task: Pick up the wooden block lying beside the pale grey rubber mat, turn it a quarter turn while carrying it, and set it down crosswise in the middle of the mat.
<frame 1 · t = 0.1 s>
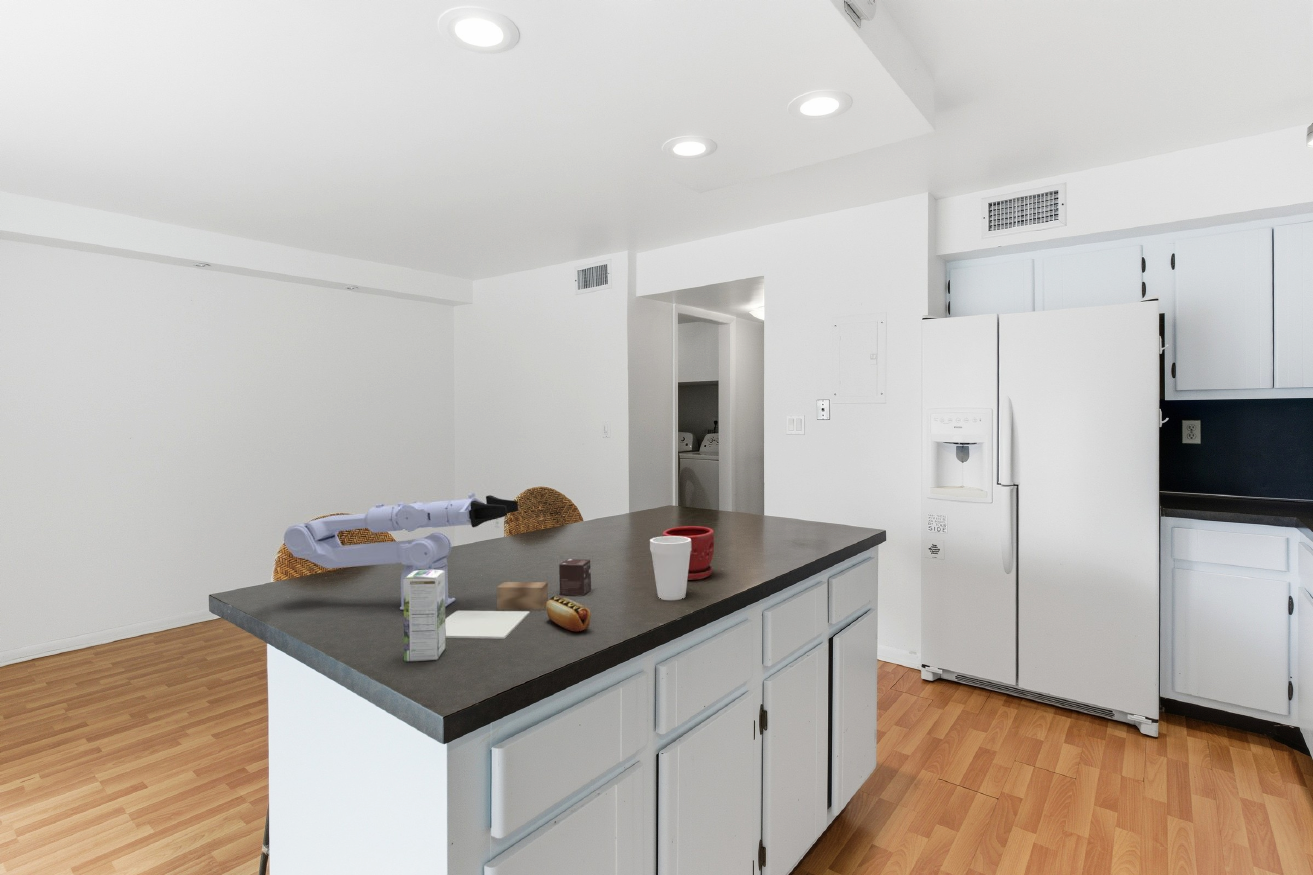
hand: (512, 508, 143), 22 cm above the countertop, tool horizontal, fingers open, 7 cm apart
plant pot: (689, 577, 167), on the countertop
syrup box: (426, 656, 114), on the countertop
hot dog: (567, 627, 129), on the countertop
wooden block: (523, 607, 143), on the countertop
mat: (479, 624, 131), on the countertop
box: (575, 593, 154), on the countertop
foam cup: (671, 597, 149), on the countertop
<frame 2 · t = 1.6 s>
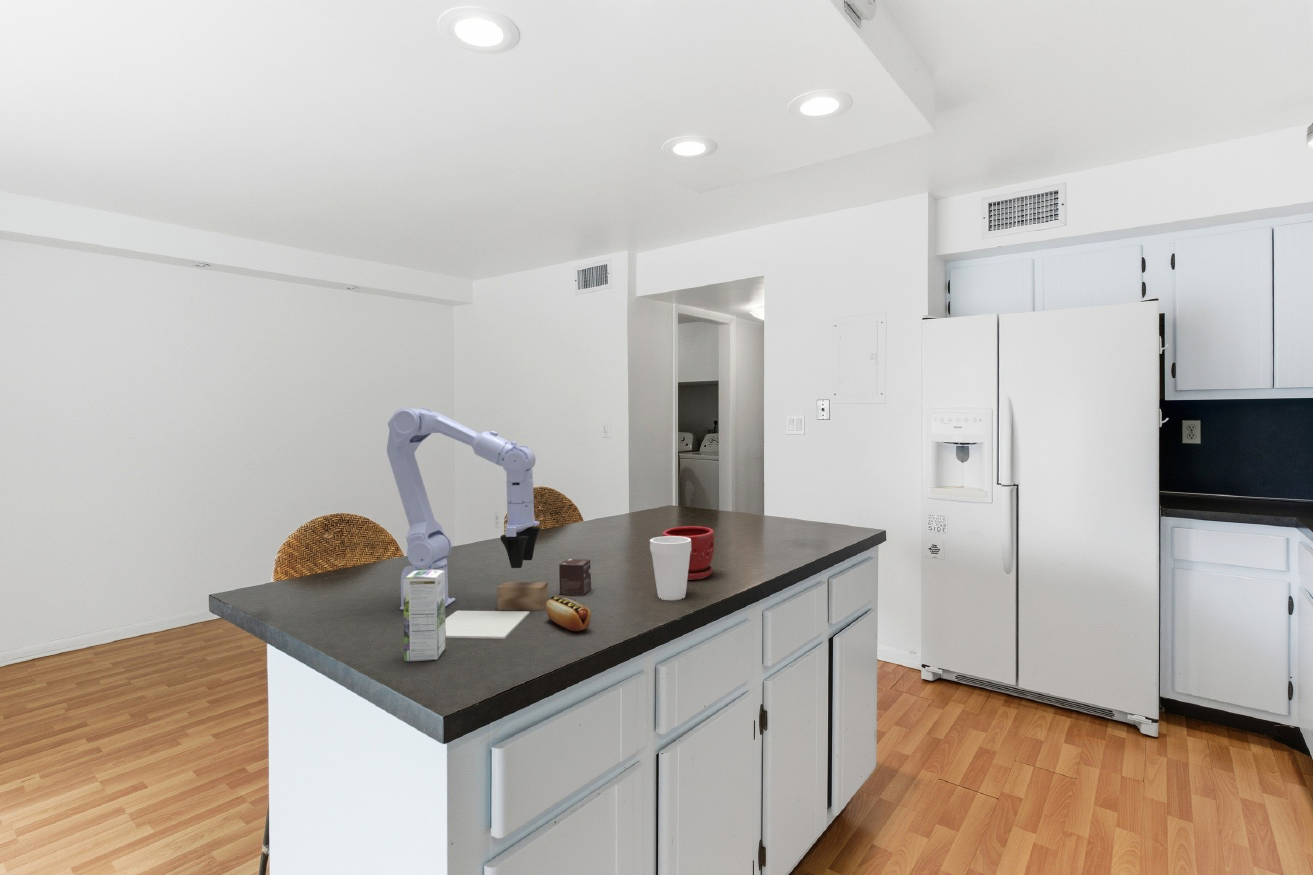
hand: (522, 563, 143), 9 cm above the countertop, tool pointing down, fingers open, 7 cm apart
nothing on the countertop moved.
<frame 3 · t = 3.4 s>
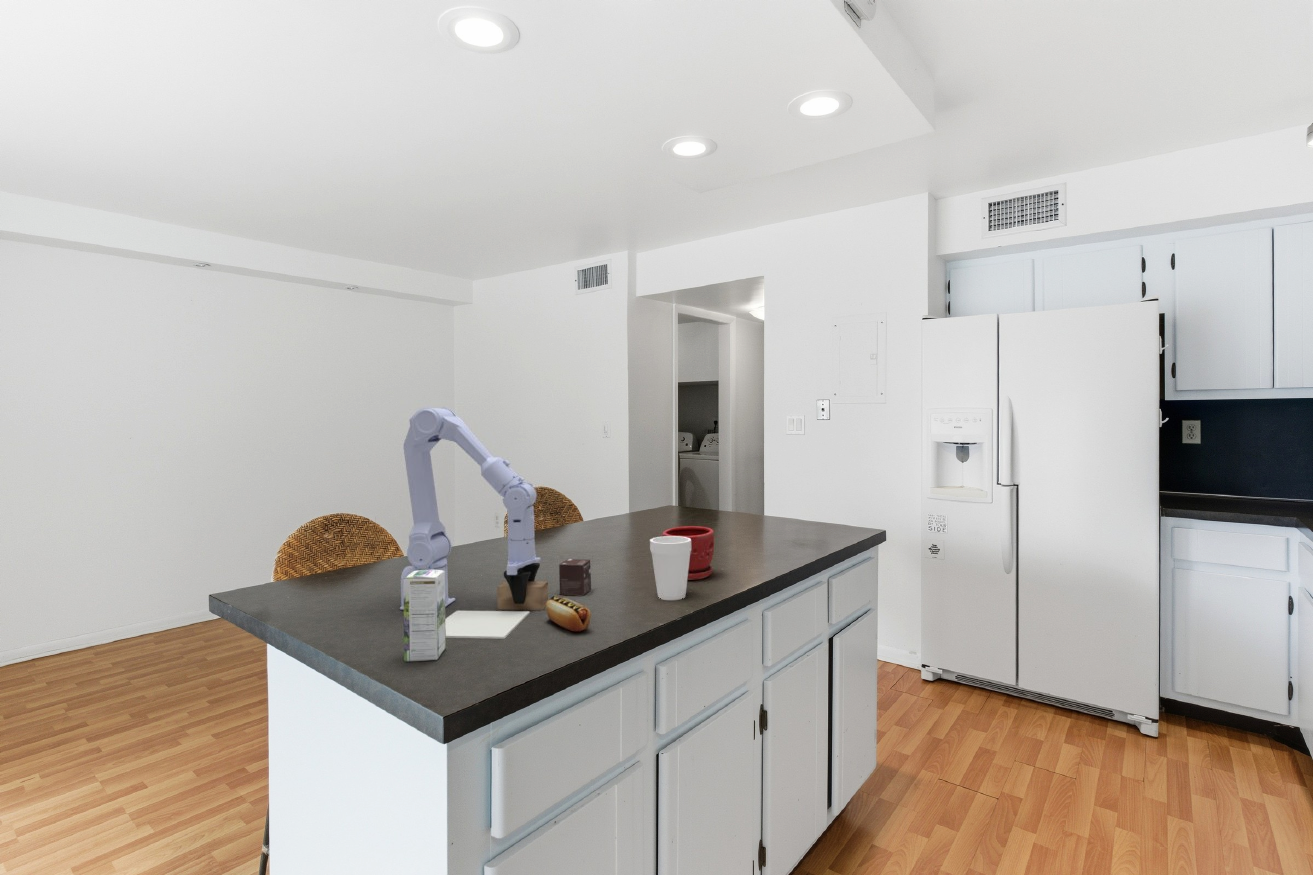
hand: (522, 599, 143), 1 cm above the countertop, tool pointing down, fingers closed on wooden block, 4 cm apart
wooden block: (523, 606, 143), on the countertop, touching gripper
everything else where it was.
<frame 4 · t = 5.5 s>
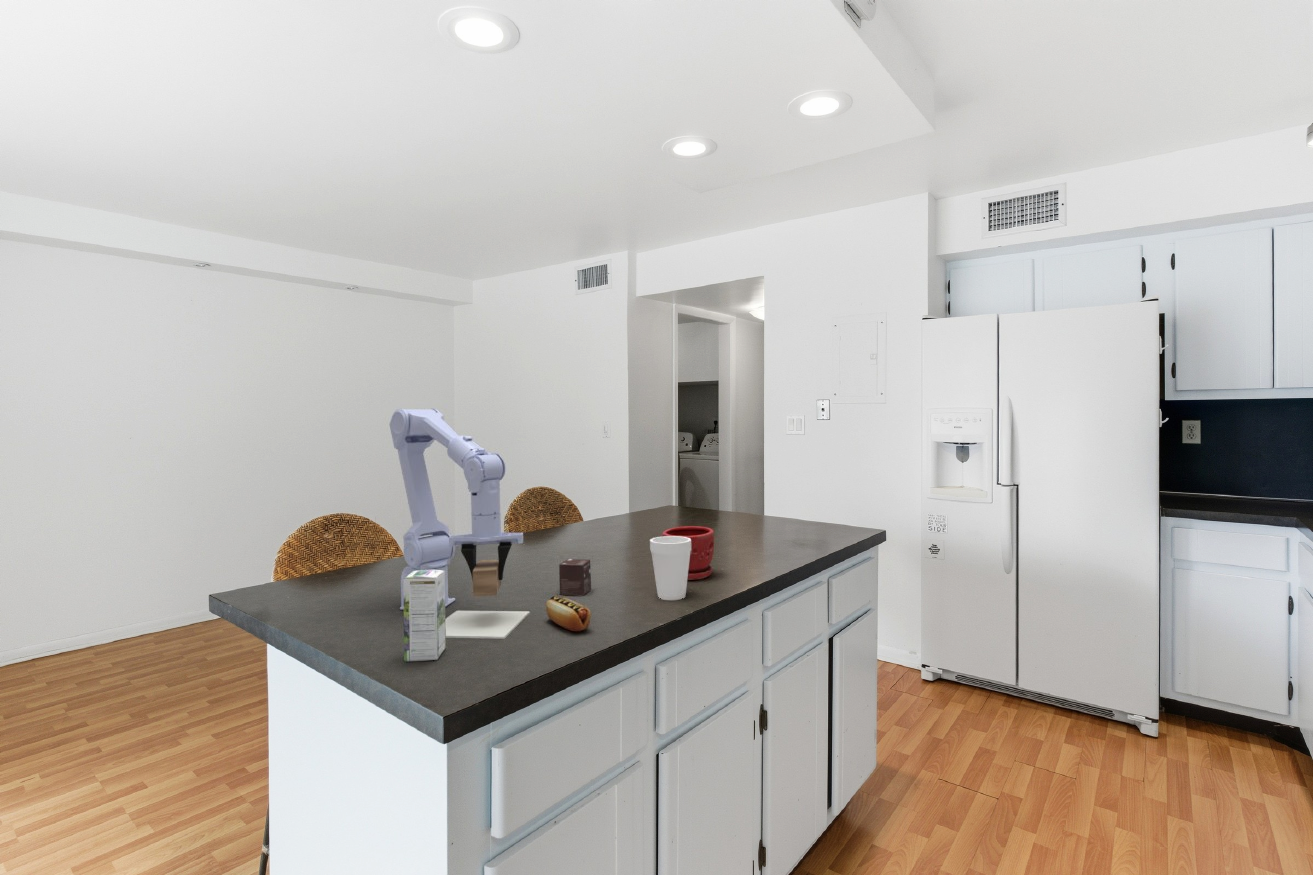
hand: (487, 579, 133), 8 cm above the countertop, tool pointing down, fingers closed on wooden block, 4 cm apart
wooden block: (487, 589, 133), point 7 cm above the countertop, touching gripper
everything else where it was.
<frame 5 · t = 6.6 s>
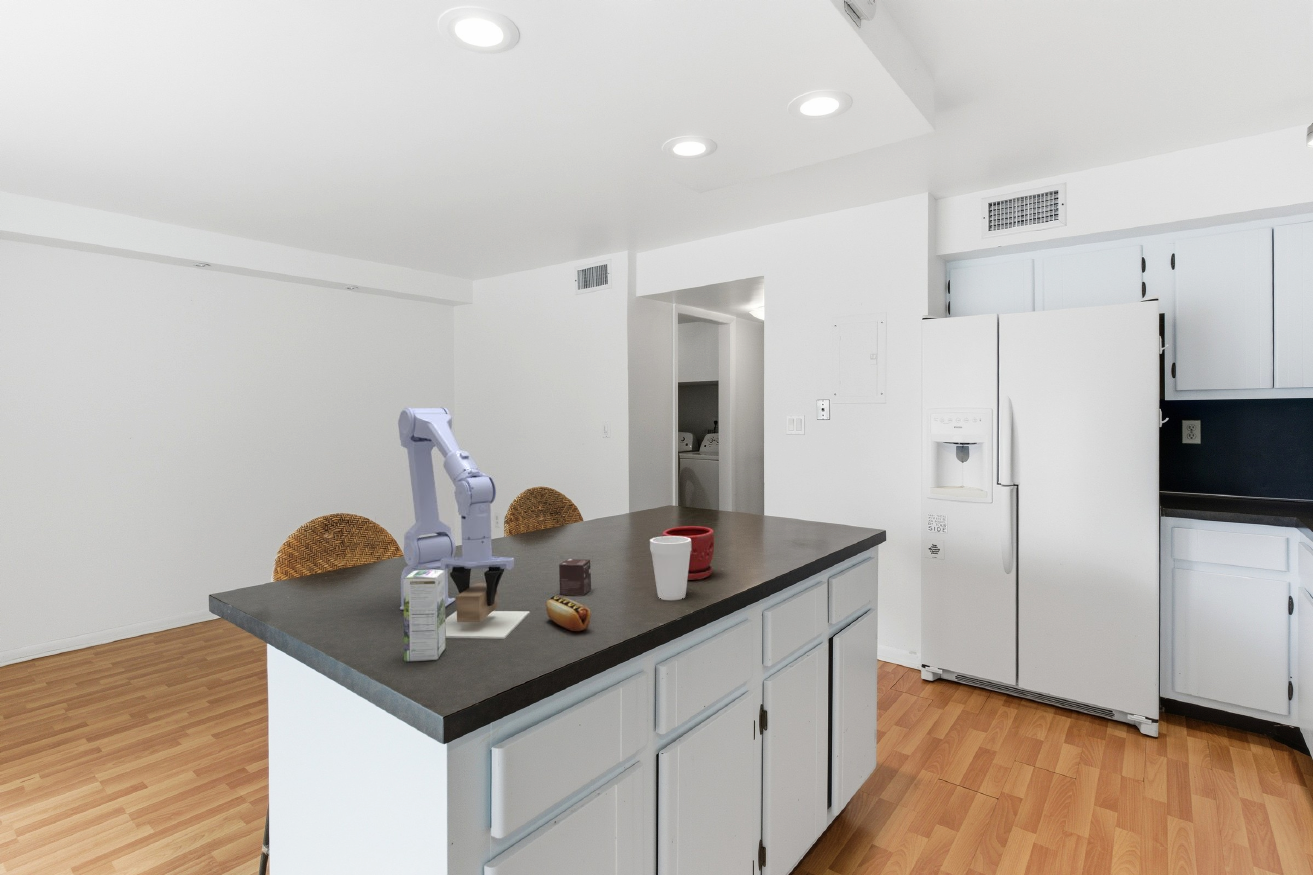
hand: (478, 604, 130), 4 cm above the countertop, tool pointing down, fingers closed on wooden block, 4 cm apart
wooden block: (478, 614, 130), point 2 cm above the countertop, touching gripper
everything else where it was.
when the fingers open (3 cm above the countertop, at t = 7.6 s): wooden block drops 1 cm, resting on mat.
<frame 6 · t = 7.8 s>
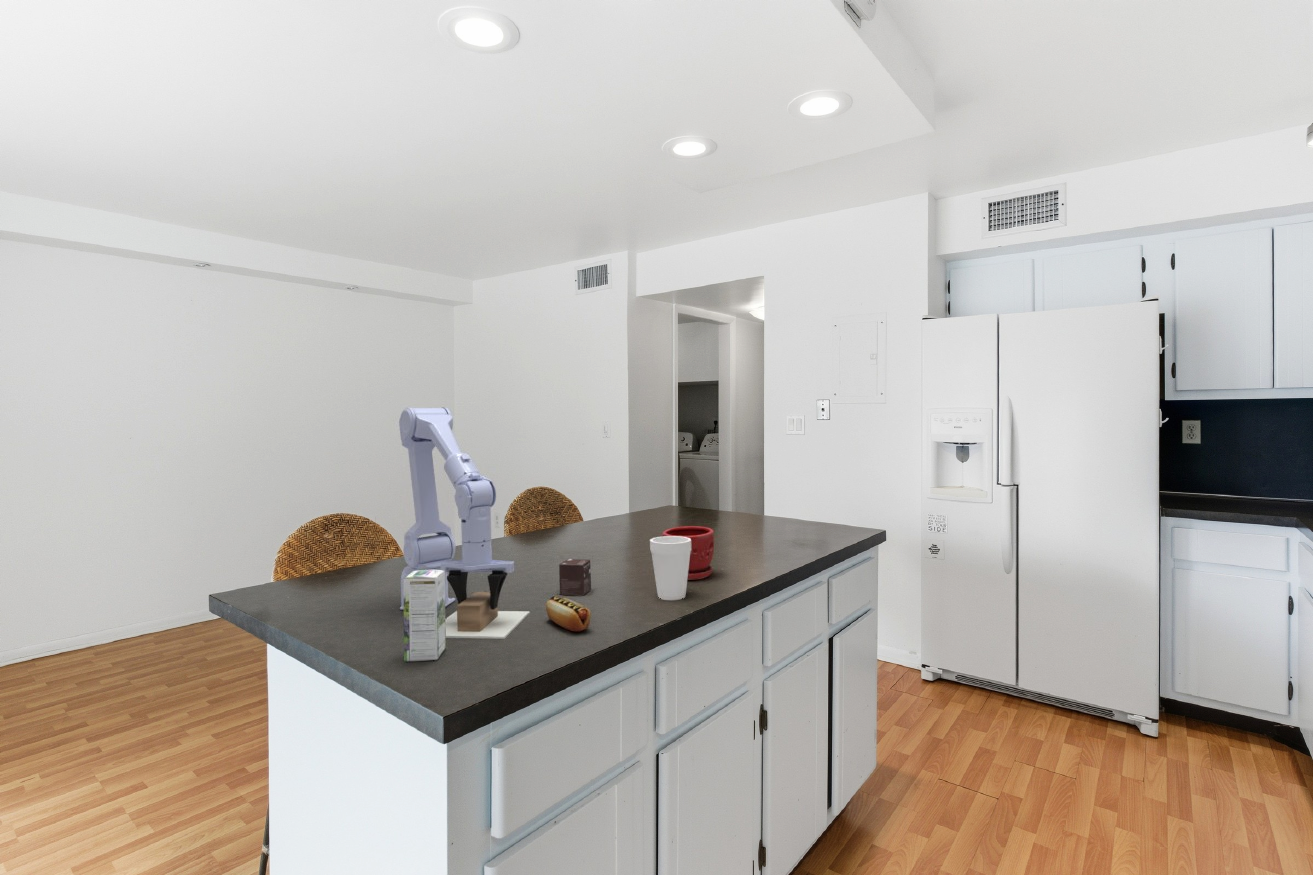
hand: (478, 607, 131), 3 cm above the countertop, tool pointing down, fingers open, 6 cm apart
wooden block: (478, 623, 130), resting on mat
everything else where it was.
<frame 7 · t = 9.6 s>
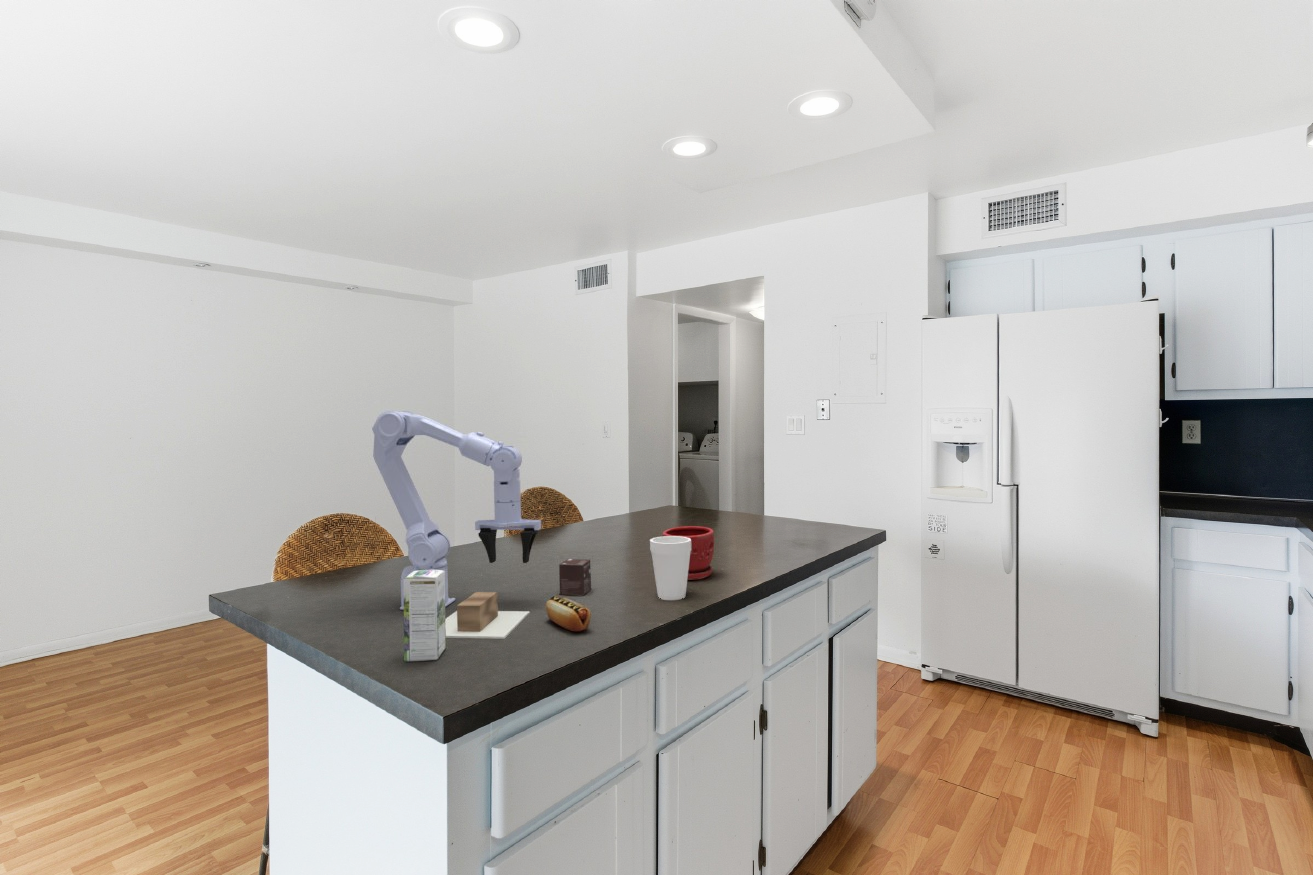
hand: (509, 562, 145), 9 cm above the countertop, tool pointing down, fingers open, 7 cm apart
nothing on the countertop moved.
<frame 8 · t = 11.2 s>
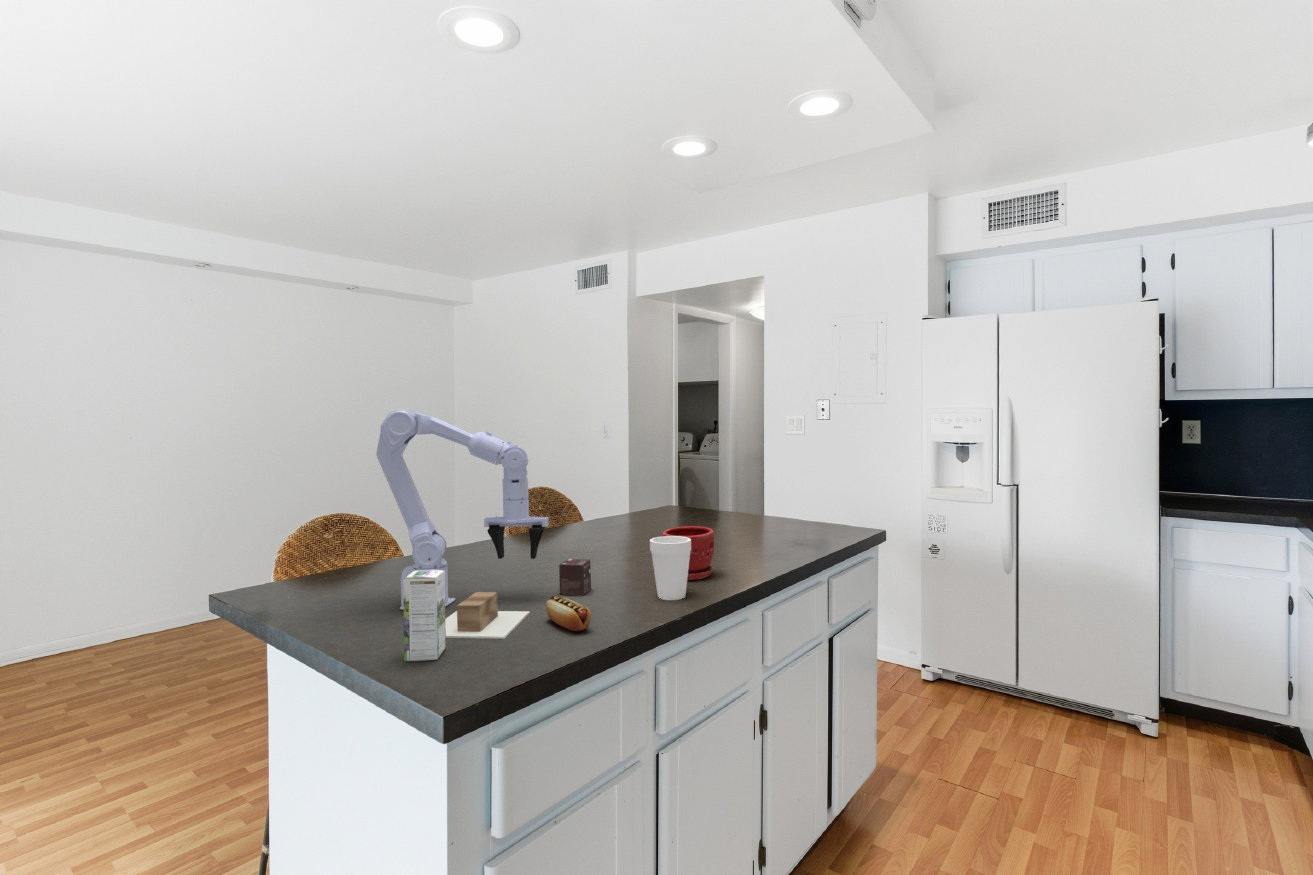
hand: (517, 557, 149), 9 cm above the countertop, tool pointing down, fingers open, 7 cm apart
nothing on the countertop moved.
at the end: wooden block inside the target area on the mat (0.4 cm from its centre), point 0.4 cm above the mat's base; wooden block tilted 0°; the gripper is holding nothing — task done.
